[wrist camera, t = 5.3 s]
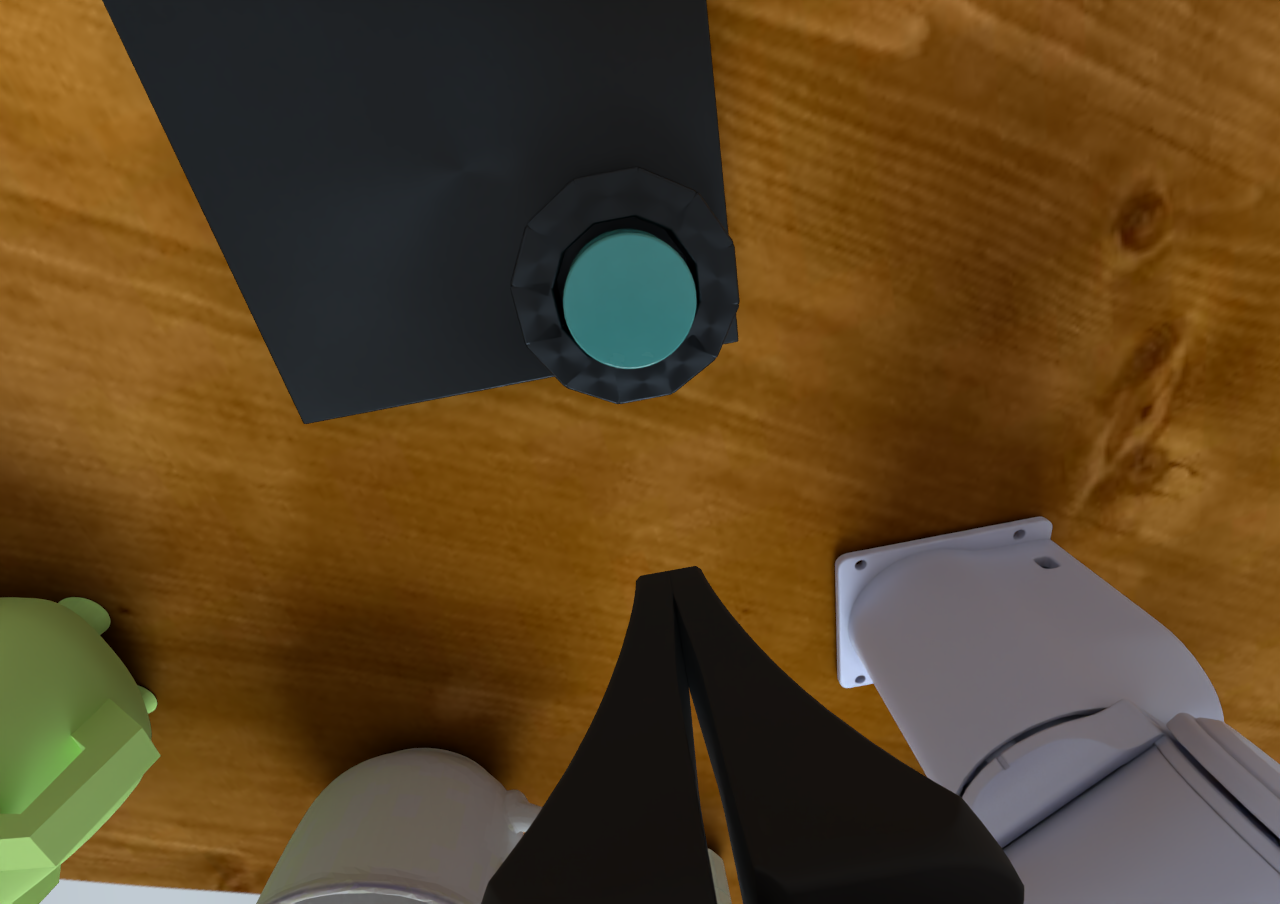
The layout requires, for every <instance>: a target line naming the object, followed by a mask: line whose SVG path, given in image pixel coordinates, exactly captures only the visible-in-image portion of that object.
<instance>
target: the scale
mask: <svg viewBox="0 0 1280 904" xmlns="http://www.w3.org/2000/svg"><path fill="white" fill-rule="evenodd" d="M102 1H103V3H104V5H105V7H106V9H107V11H108V13H109V15H110V17H111V20H112V22H113V24H114V26H115V28H116V30H117V32H118V34H119V36H120V38H121V41H122V43H123V45H124V47H125V49H126V51H127V53H128V55H129V57H130V59H131V62H132V64H133V66H134V68H135V70H136V72H137V74H138V76H139V78H140V80H141V83H142V85H143V87H144V89H145V91H146V93H147V95H148V97H149V99H150V102H151V104H152V106H153V108H154V110H155V112H156V114H157V116H158V118H159V120H160V123H161V125H162V127H163V129H164V131H165V133H166V135H167V137H168V139H169V141H170V144H171V146H172V148H173V150H174V152H175V154H176V156H177V158H178V160H179V162H180V165H181V167H182V169H183V171H184V173H185V175H186V177H187V179H188V181H189V183H190V186H191V188H192V190H193V192H194V194H195V196H196V198H197V200H198V202H199V204H200V207H201V209H202V211H203V213H204V215H205V217H206V219H207V221H208V223H209V226H210V228H211V230H212V232H213V234H214V236H215V238H216V240H217V242H218V244H219V247H220V249H221V251H222V253H223V255H224V257H225V259H226V261H227V263H228V265H229V268H230V270H231V272H232V274H233V276H234V278H235V280H236V282H237V284H238V286H239V289H240V291H241V293H242V295H243V297H244V299H245V301H246V303H247V305H248V307H249V310H250V312H251V314H252V316H253V318H254V320H255V322H256V324H257V326H258V328H259V331H260V333H261V335H262V337H263V339H264V341H265V343H266V345H267V347H268V350H269V352H270V354H271V356H272V358H273V360H274V362H275V364H276V366H277V368H278V371H279V373H280V375H281V377H282V379H283V381H284V383H285V385H286V387H287V389H288V392H289V394H290V396H291V398H292V400H293V402H294V404H295V406H296V408H297V410H298V413H299V415H300V417H301V419H302V421H303V423H304V424H309V423H314V422H319V421H324V420H330V419H335V418H340V417H345V416H351V415H356V414H361V413H366V412H372V411H377V410H382V409H387V408H392V407H398V406H403V405H408V404H413V403H419V402H424V401H429V400H434V399H440V398H445V397H450V396H455V395H460V394H466V393H471V392H476V391H481V390H487V389H492V388H497V387H502V386H508V385H513V384H518V383H523V382H528V381H534V380H539V379H544V378H549V377H556V378H557V379H558V380H559V381H560V382H561V383H562V385H563V386H565V387H566V388H568V389H571V390H574V391H578V392H581V393H584V394H587V395H590V396H593V397H597V398H600V399H603V400H606V401H609V402H612V403H616V404H623V403H629V402H634V401H639V400H644V399H650V398H655V397H660V396H665V395H670V394H672V393H674V392H676V391H677V390H678V389H680V388H681V387H682V386H683V385H684V384H686V383H687V382H688V381H689V380H691V379H692V378H693V377H694V376H696V375H697V374H698V373H699V372H701V371H702V370H703V369H704V368H706V367H707V366H708V365H709V364H711V363H712V362H713V361H714V360H715V359H716V358H717V356H718V354H719V352H720V350H721V347H722V345H723V344H727V343H733V342H737V341H738V330H737V319H736V312H737V310H738V308H739V305H738V304H739V291H738V280H737V269H736V258H735V247H734V244H733V241H732V239H731V238H730V236H729V235H728V224H727V214H726V203H725V193H724V182H723V172H722V161H721V151H720V140H719V130H718V119H717V108H716V98H715V87H714V77H713V66H712V56H711V45H710V35H709V24H708V14H707V3H706V0H102ZM615 229H637V230H642V231H645V232H648V233H650V234H652V235H654V236H656V237H658V238H659V239H661V240H662V241H664V242H665V243H667V244H668V245H670V246H671V247H672V248H673V249H674V250H675V251H677V252H678V254H679V255H680V256H681V257H682V258H683V260H684V261H685V263H686V264H687V266H688V268H689V270H690V272H691V274H692V277H693V280H694V283H695V288H696V297H697V304H696V313H695V318H694V321H693V324H692V327H691V329H690V331H689V333H688V335H687V336H686V338H685V340H684V341H683V342H682V344H681V345H680V346H679V347H678V348H677V349H676V350H675V351H674V352H673V353H672V354H671V355H669V356H668V357H667V358H665V359H664V360H662V361H660V362H658V363H656V364H653V365H651V366H647V367H643V368H638V369H621V368H615V367H611V366H608V365H605V364H603V363H601V362H599V361H597V360H595V359H593V358H592V357H591V356H589V355H588V354H587V353H586V352H585V351H584V350H583V349H582V348H581V347H580V346H579V345H578V344H577V342H576V341H575V340H574V338H573V336H572V335H571V333H570V331H569V328H568V326H567V323H566V320H565V316H564V310H563V292H564V287H565V282H566V278H567V274H568V271H569V269H570V266H571V264H572V262H573V260H574V258H575V257H576V255H577V254H578V252H579V251H580V250H581V249H582V248H583V247H584V246H585V245H586V244H587V243H588V242H589V241H591V240H592V239H593V238H595V237H597V236H599V235H600V234H603V233H605V232H608V231H612V230H615Z"/></svg>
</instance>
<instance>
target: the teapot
mask: <svg viewBox="0 0 1280 904" xmlns="http://www.w3.org/2000/svg"><path fill="white" fill-rule="evenodd" d="M110 622H111V621H110V617H109V614H108V613H107V611H106V610H105V609H104V608H103V607H101V606H100V605H99V604H97V603H95V602H93V601H91V600H88V599H85V598H79V597H70V598H65V599H63V600H61V601H59V602H58V603H56V602H53V601H50V600H44V599H38V598H18V597H4V598H0V904H39V903H40V902H41V901H42V900H43V899H44V898H45V897H46V896H47V895H48V894H49V893H50V891H51V890H52V889H53V888H54V887H55V886H56V885H57V884H58V883H59V877H60V868H61V864H62V863H63V862H64V861H65V860H66V859H68V858H69V857H70V856H71V855H72V854H73V853H74V852H75V851H76V850H78V849H79V848H80V847H81V846H82V845H83V844H84V843H85V842H86V841H87V840H88V839H89V838H91V837H92V836H93V834H94V833H95V832H96V831H97V830H98V829H99V828H100V827H101V826H102V825H103V824H104V823H105V822H106V821H107V820H108V819H109V818H110V817H111V816H112V815H113V814H114V812H115V811H116V810H117V809H118V808H119V807H120V806H121V805H122V804H123V803H124V801H125V800H126V799H127V797H128V796H129V795H130V794H131V792H132V791H133V790H134V789H135V787H136V786H137V785H138V783H139V782H140V780H141V778H142V776H143V774H144V773H145V772H146V771H147V770H148V769H149V768H150V767H151V766H152V765H153V764H154V762H155V761H156V760H157V759H158V758H159V757H160V756H161V755H160V754H159V752H158V751H157V749H156V748H155V746H154V745H153V743H152V742H151V737H152V733H151V724H150V720H149V716H148V713H150V712H152V711H153V710H155V708H156V706H157V700H156V698H155V696H154V695H153V694H152V693H151V692H150V691H148V690H147V689H145V688H143V687H141V686H138V685H137V684H136V682H135V680H134V679H133V677H132V675H131V674H130V672H129V671H128V669H127V668H126V666H125V665H124V664H123V662H122V661H121V660H120V658H119V657H118V656H117V655H116V653H115V652H114V651H113V650H112V649H111V647H110V646H109V645H108V644H107V643H106V642H105V641H104V639H103V638H102V637H101V636H100V635H101V634H102V633H103V632H105V631H106V630H107V629H108V628H109V626H110Z"/></svg>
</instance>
